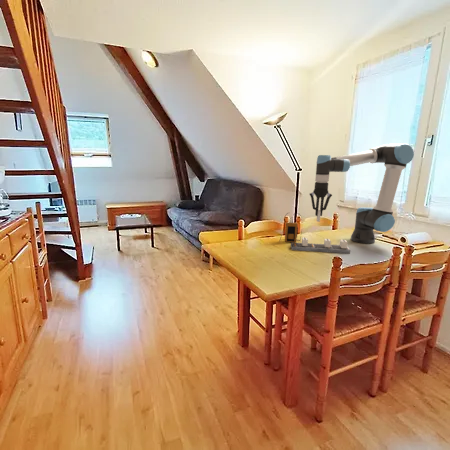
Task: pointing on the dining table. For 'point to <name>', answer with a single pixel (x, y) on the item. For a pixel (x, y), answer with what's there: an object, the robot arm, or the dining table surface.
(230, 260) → the dining table surface
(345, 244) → the breaker
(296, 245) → the panel
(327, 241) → the block
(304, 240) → the breaker
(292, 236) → the multimeter
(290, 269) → the dining table surface
